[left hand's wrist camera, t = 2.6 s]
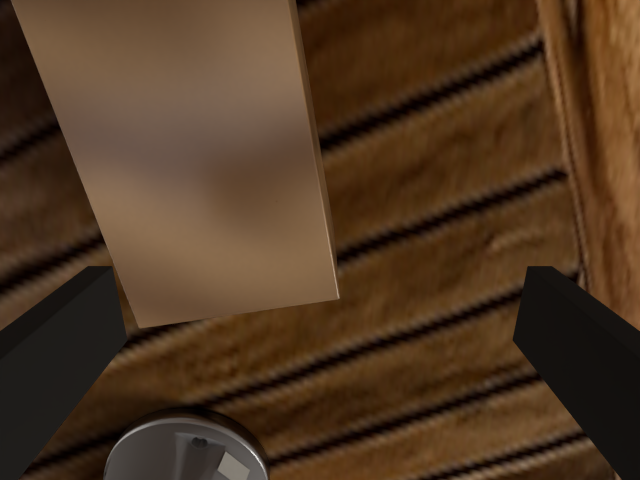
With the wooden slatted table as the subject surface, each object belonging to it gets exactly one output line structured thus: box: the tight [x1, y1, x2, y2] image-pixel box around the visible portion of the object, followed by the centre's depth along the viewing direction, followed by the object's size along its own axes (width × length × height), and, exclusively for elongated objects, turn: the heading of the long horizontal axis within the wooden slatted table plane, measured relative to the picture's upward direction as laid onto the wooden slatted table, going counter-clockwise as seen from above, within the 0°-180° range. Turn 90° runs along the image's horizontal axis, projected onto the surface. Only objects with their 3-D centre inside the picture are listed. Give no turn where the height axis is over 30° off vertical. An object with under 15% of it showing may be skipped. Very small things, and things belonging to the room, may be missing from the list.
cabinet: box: [11, 0, 340, 328], centre depth 22 cm, size 18×11×10 cm, turn 10°
